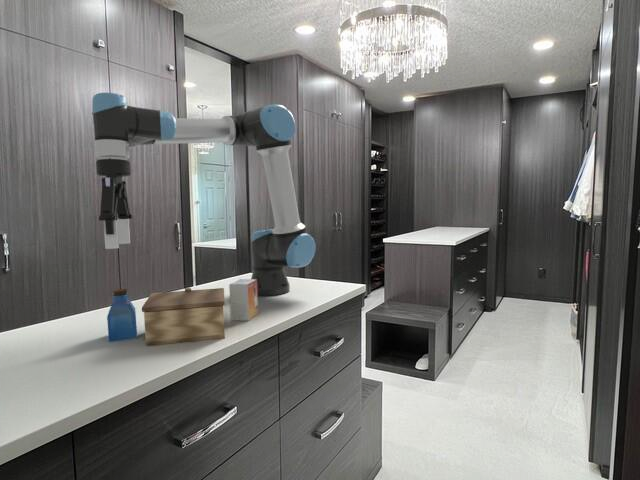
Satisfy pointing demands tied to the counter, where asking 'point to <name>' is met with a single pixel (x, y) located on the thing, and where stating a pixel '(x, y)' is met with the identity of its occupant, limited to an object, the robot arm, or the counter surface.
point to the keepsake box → (184, 325)
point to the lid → (184, 299)
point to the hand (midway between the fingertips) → (118, 246)
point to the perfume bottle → (121, 317)
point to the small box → (243, 299)
